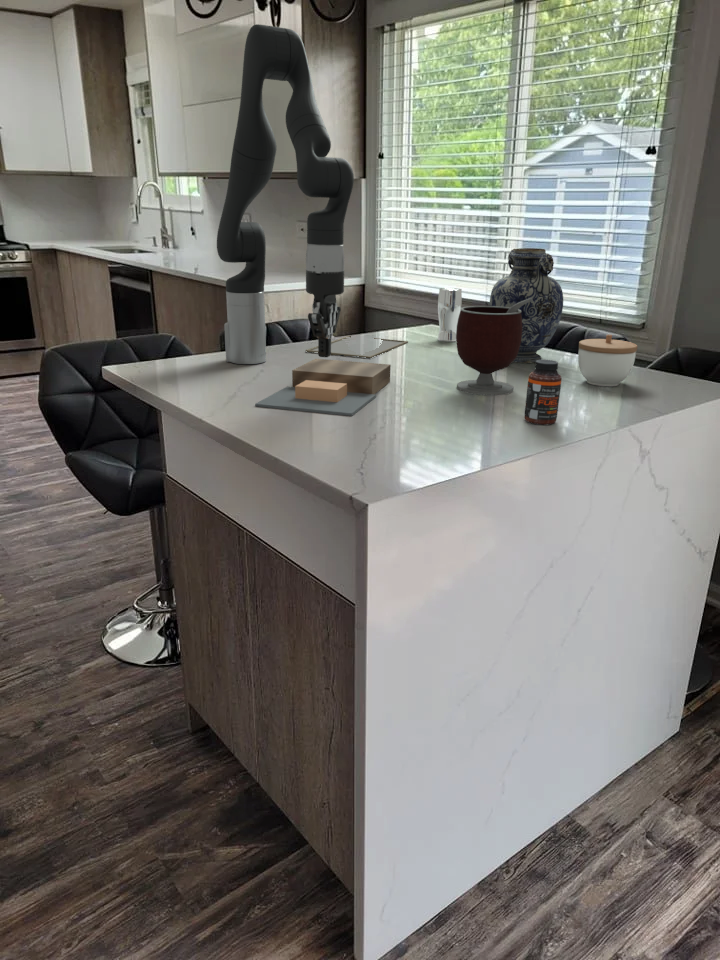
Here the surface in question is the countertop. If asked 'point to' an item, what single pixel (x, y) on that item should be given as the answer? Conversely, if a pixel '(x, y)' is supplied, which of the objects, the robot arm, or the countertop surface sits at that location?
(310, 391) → the tan rectangular block
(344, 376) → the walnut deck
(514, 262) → the decorative vase
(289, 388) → the slate mat
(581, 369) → the lidded bowl
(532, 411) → the supplement bottle
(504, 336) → the mate gourd
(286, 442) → the countertop surface
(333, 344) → the picture frame
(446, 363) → the countertop surface
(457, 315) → the beer glass
